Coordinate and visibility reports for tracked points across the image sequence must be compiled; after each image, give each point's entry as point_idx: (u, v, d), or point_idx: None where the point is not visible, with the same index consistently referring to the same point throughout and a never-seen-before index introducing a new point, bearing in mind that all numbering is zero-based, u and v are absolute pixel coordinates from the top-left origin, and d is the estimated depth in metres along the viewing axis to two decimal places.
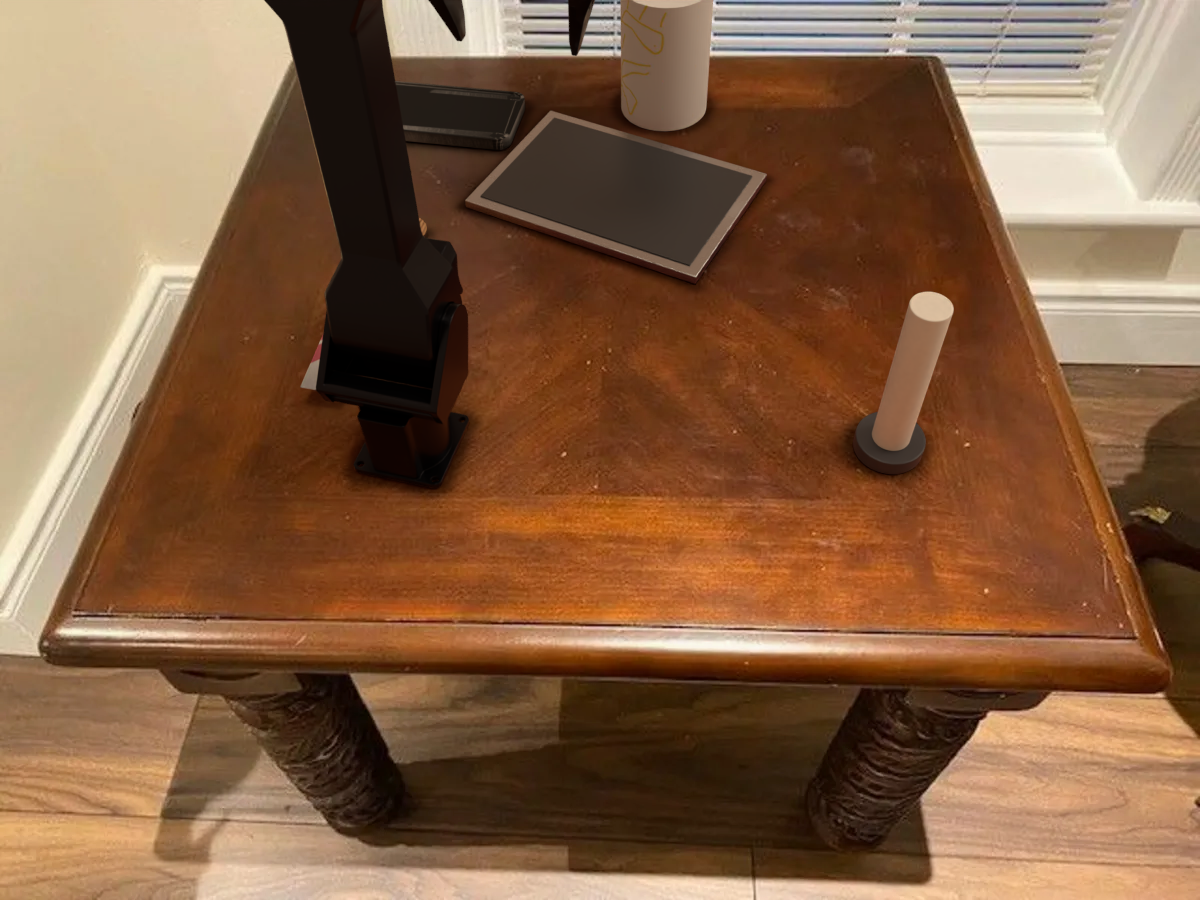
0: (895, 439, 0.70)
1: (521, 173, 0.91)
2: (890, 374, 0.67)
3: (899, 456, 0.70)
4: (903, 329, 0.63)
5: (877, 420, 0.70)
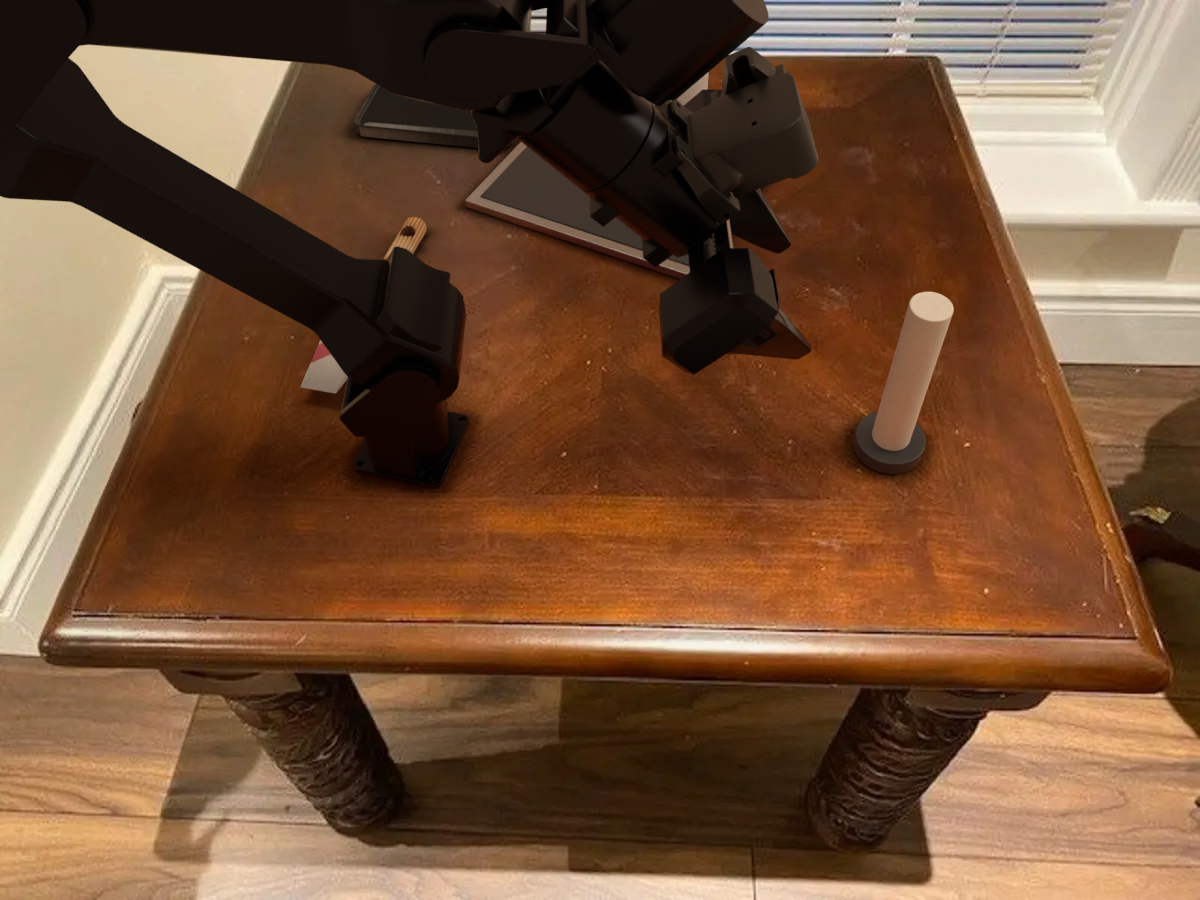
0: (895, 439, 0.70)
1: (521, 173, 0.91)
2: (890, 374, 0.67)
3: (899, 456, 0.70)
4: (903, 329, 0.63)
5: (877, 420, 0.70)
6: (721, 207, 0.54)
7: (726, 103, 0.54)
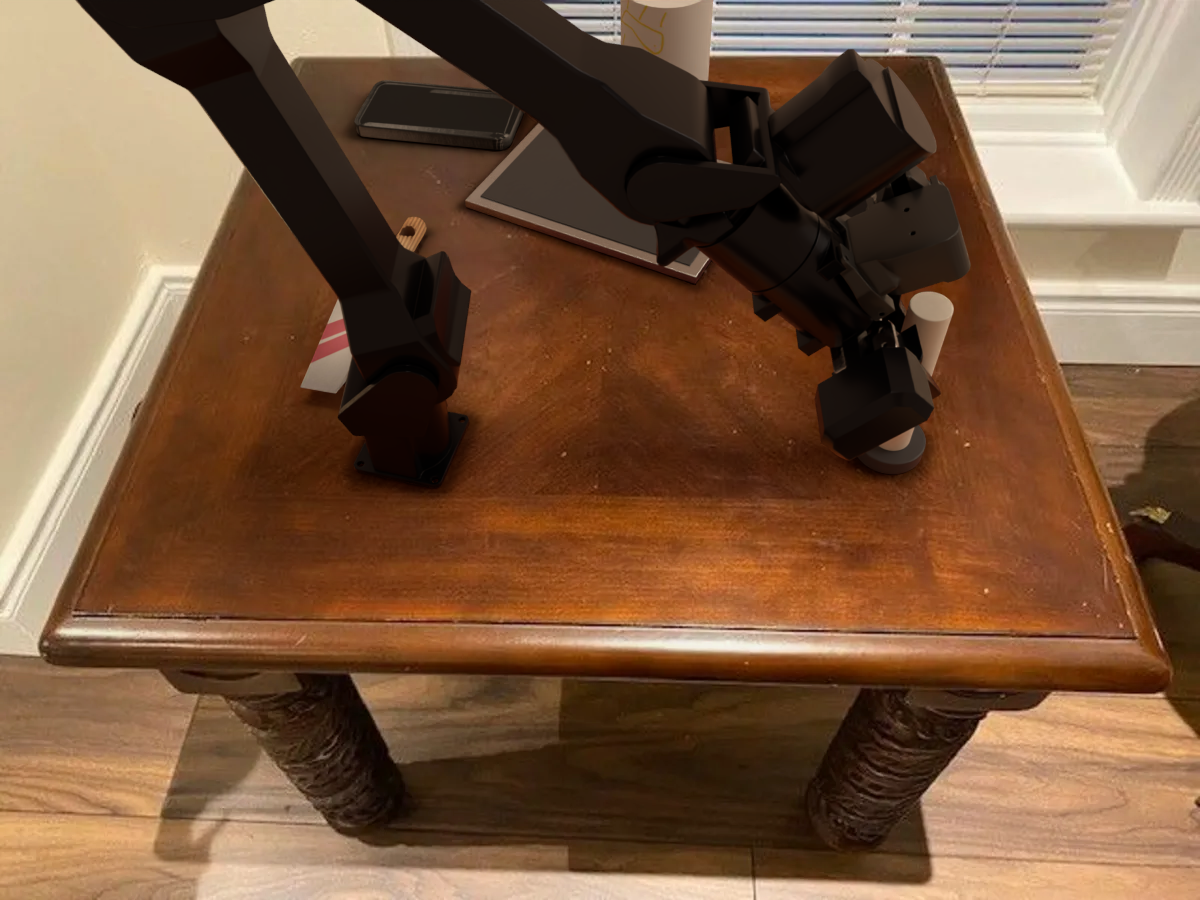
0: (895, 439, 0.70)
1: (521, 173, 0.91)
2: None
3: (899, 456, 0.70)
4: (904, 329, 0.63)
5: None
6: (878, 307, 0.58)
7: (883, 210, 0.58)
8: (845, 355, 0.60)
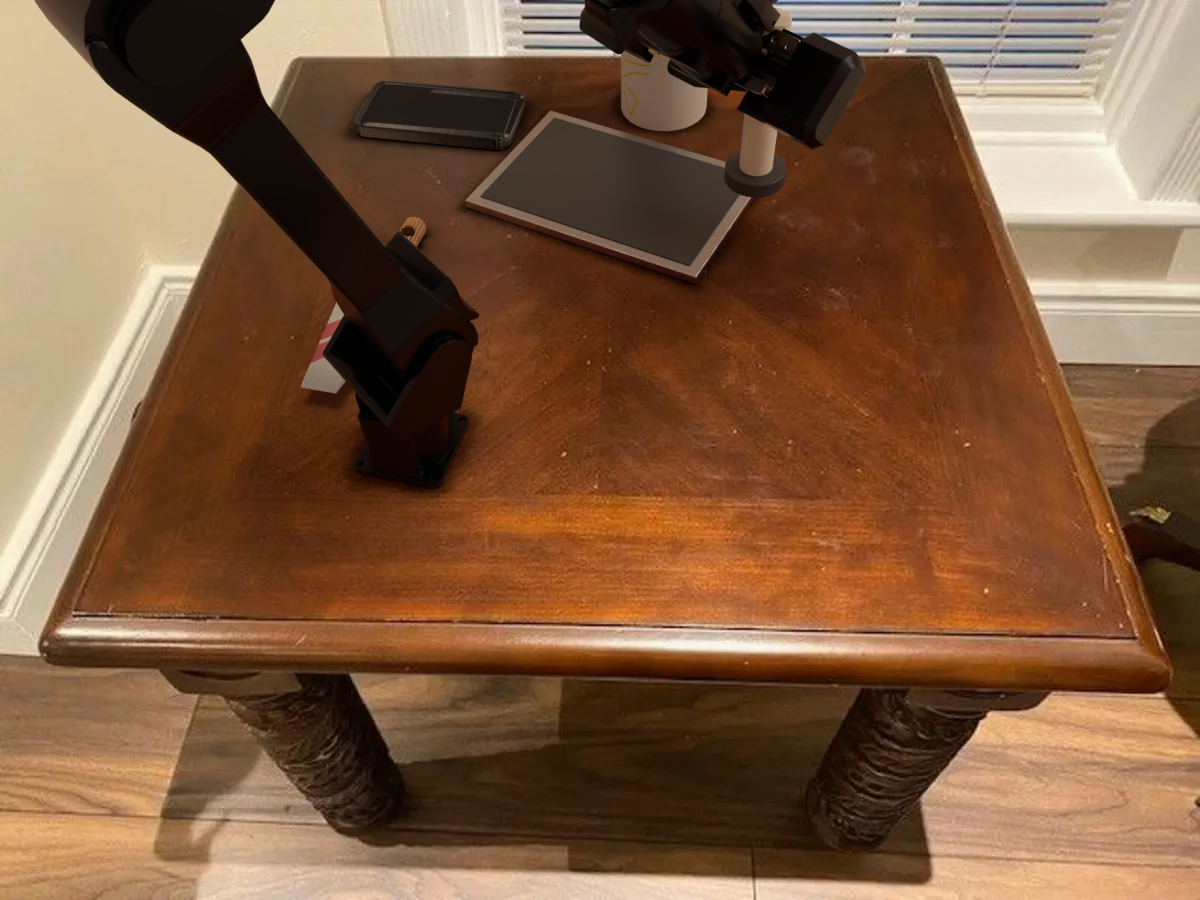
0: (768, 160, 0.80)
1: (521, 173, 0.91)
2: None
3: (775, 174, 0.81)
4: None
5: (748, 153, 0.79)
6: (771, 16, 0.66)
7: None
8: (764, 72, 0.68)
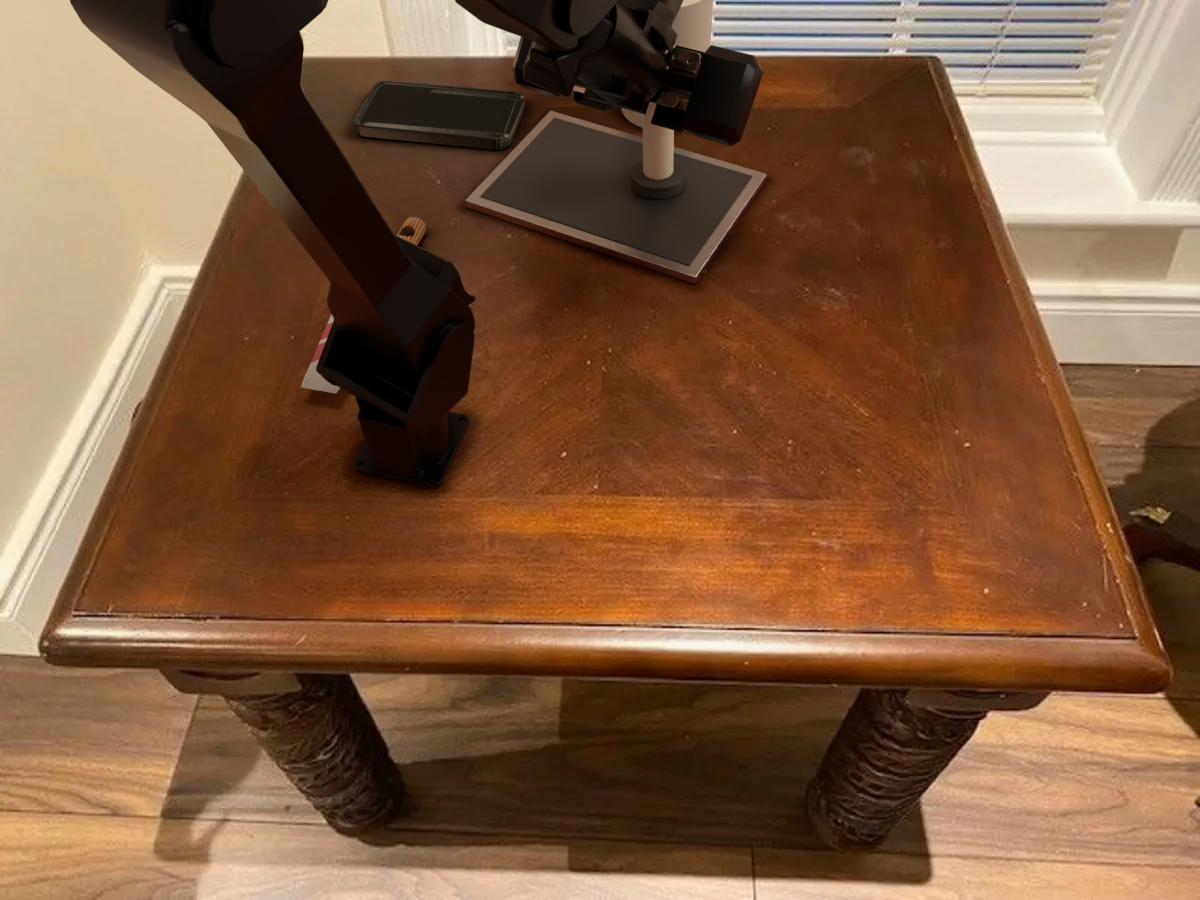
0: (671, 162, 0.88)
1: (521, 173, 0.91)
2: (652, 112, 0.83)
3: (678, 173, 0.89)
4: None
5: (653, 160, 0.87)
6: (672, 37, 0.74)
7: None
8: (675, 86, 0.75)
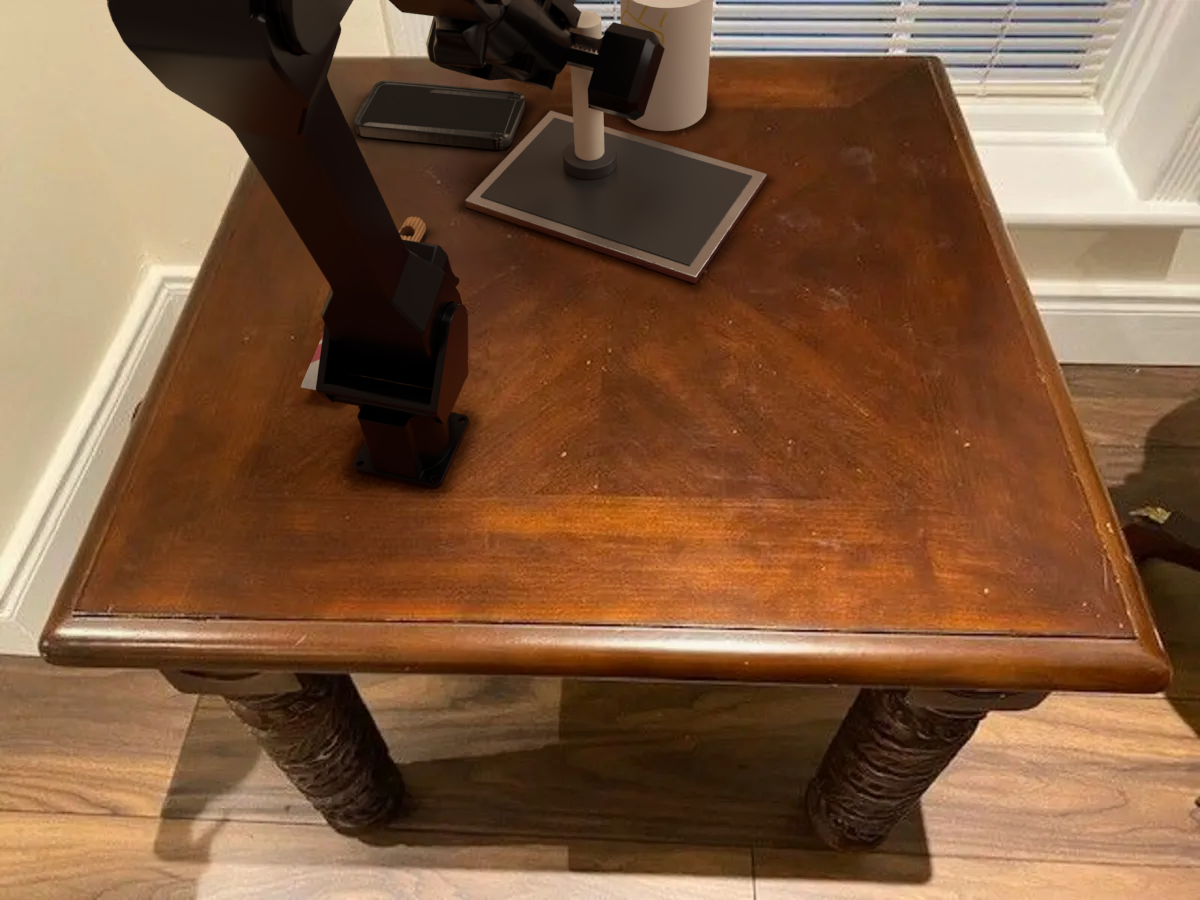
0: (601, 143, 0.90)
1: (521, 173, 0.91)
2: (581, 95, 0.85)
3: (609, 154, 0.91)
4: (580, 49, 0.82)
5: (583, 142, 0.89)
6: (575, 15, 0.77)
7: None
8: (579, 63, 0.78)
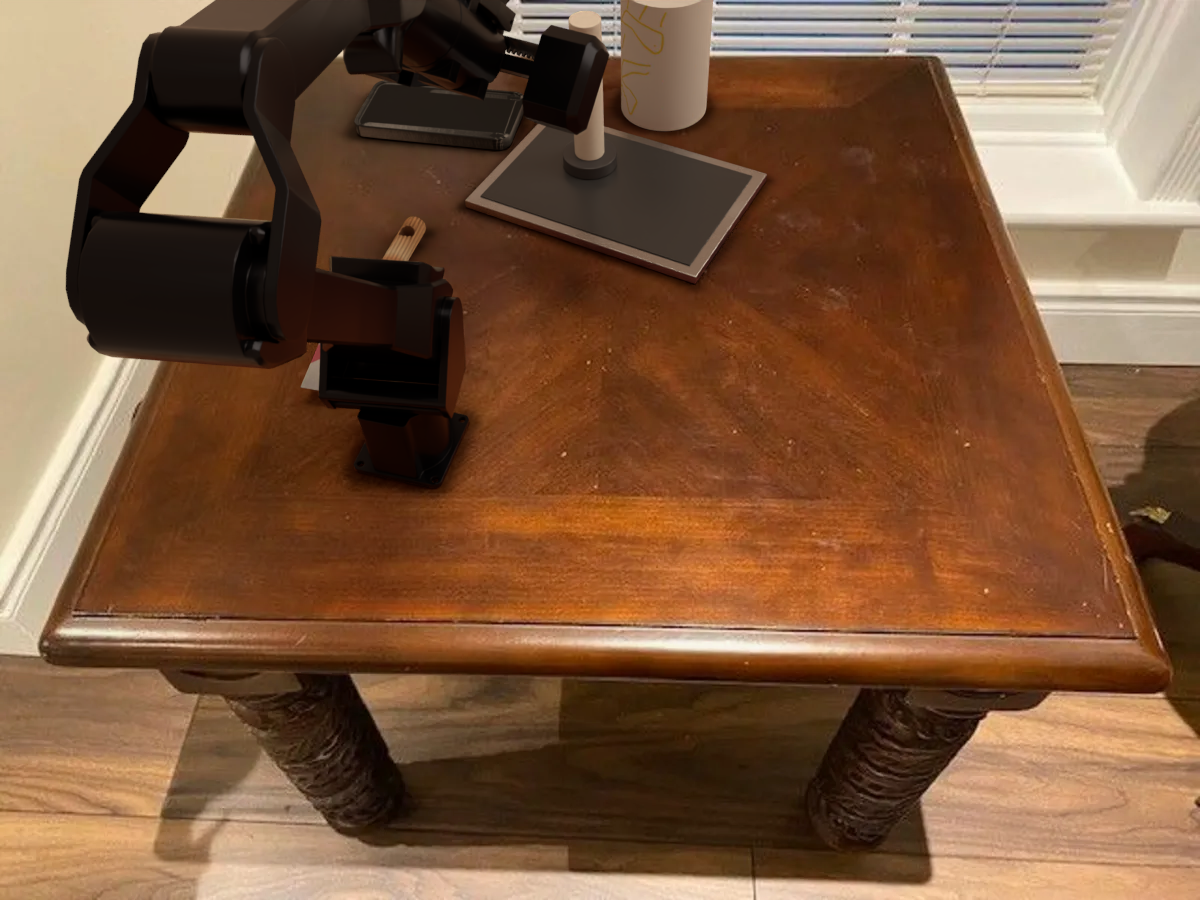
0: (601, 143, 0.90)
1: (521, 173, 0.91)
2: None
3: (609, 154, 0.91)
4: None
5: (583, 142, 0.89)
6: (508, 16, 0.68)
7: None
8: (514, 70, 0.69)
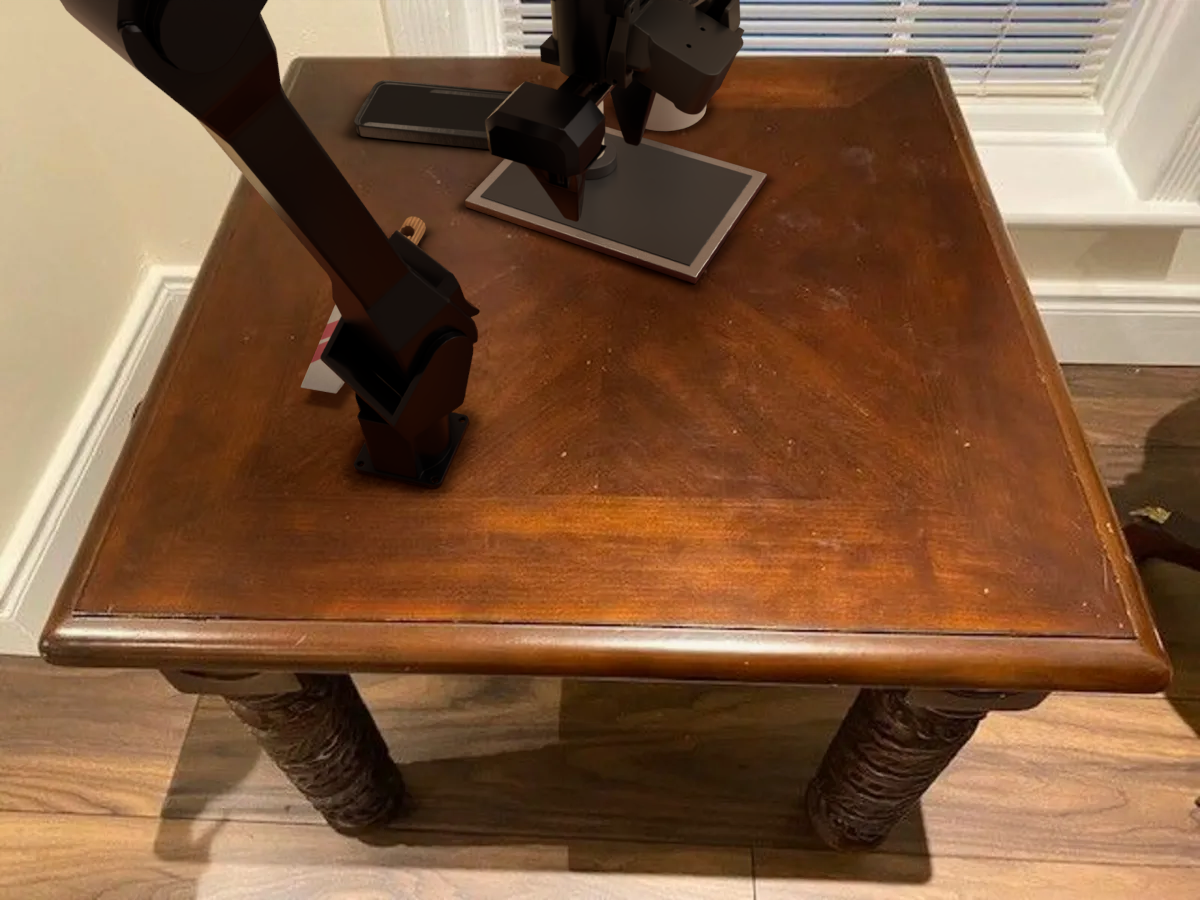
0: None
1: (521, 173, 0.91)
2: None
3: (609, 154, 0.91)
4: None
5: None
6: (617, 72, 0.61)
7: (689, 13, 0.61)
8: (564, 83, 0.62)
